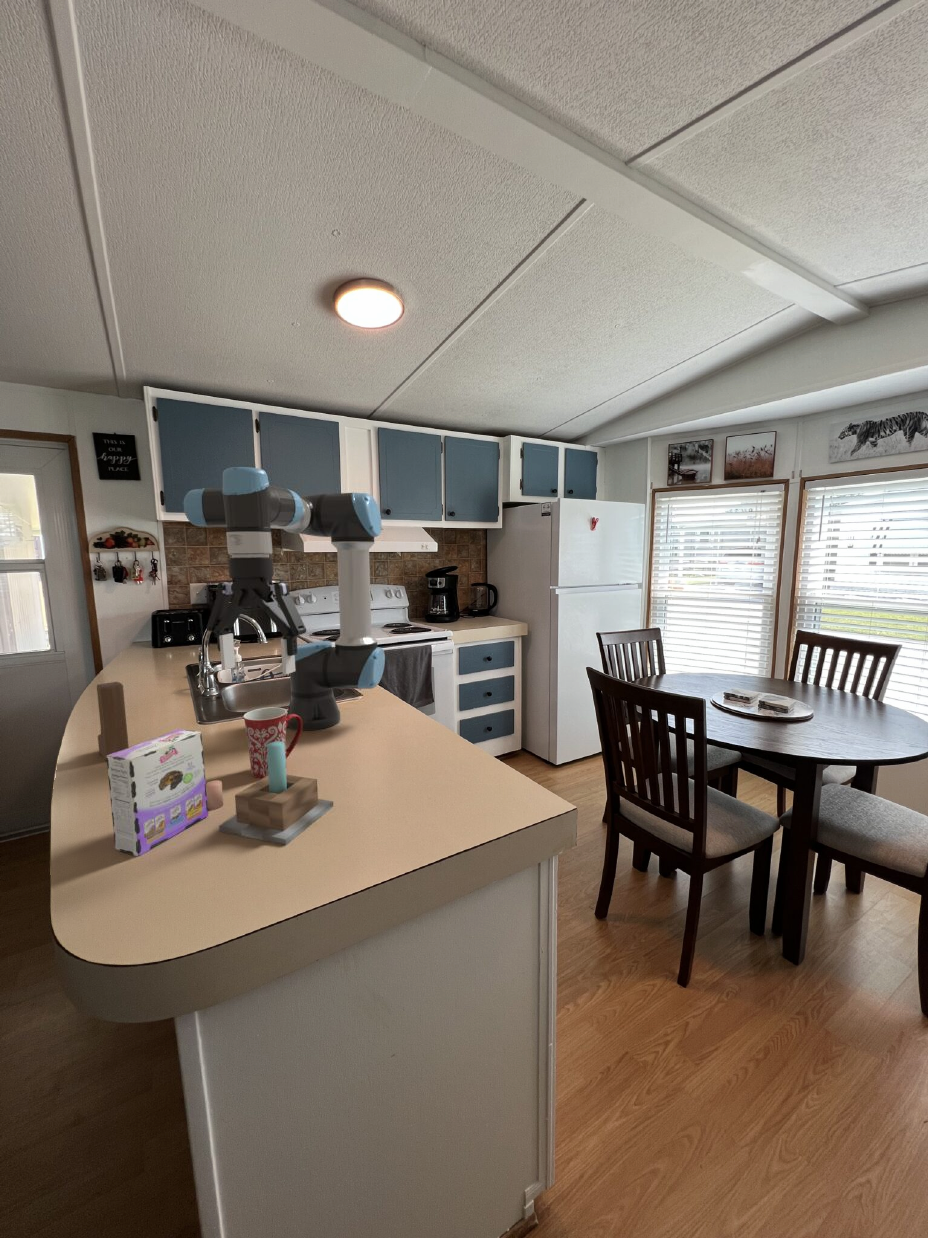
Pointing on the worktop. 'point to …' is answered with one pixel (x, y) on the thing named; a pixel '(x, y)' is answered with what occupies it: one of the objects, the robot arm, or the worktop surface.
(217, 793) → the light brown oval shape
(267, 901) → the worktop surface
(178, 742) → the candy box
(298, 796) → the square wooden frame
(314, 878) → the worktop surface
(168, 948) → the worktop surface
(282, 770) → the long pin
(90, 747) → the worktop surface
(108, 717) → the wooden block
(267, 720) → the mug
